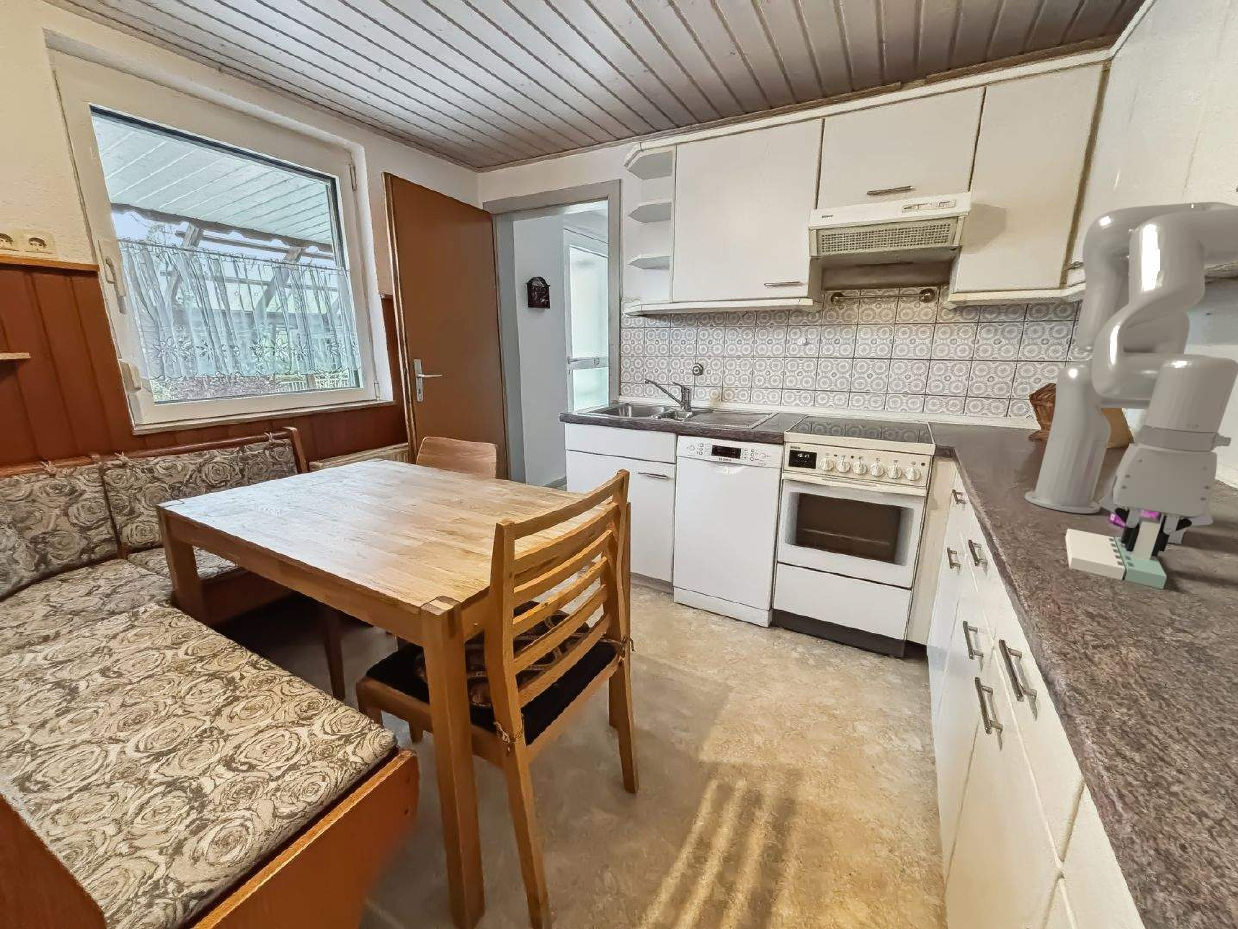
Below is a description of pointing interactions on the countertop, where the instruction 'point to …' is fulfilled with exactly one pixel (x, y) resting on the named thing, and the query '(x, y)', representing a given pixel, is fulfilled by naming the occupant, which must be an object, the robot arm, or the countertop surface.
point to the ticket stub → (1143, 556)
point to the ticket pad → (1094, 554)
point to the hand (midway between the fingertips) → (1140, 550)
